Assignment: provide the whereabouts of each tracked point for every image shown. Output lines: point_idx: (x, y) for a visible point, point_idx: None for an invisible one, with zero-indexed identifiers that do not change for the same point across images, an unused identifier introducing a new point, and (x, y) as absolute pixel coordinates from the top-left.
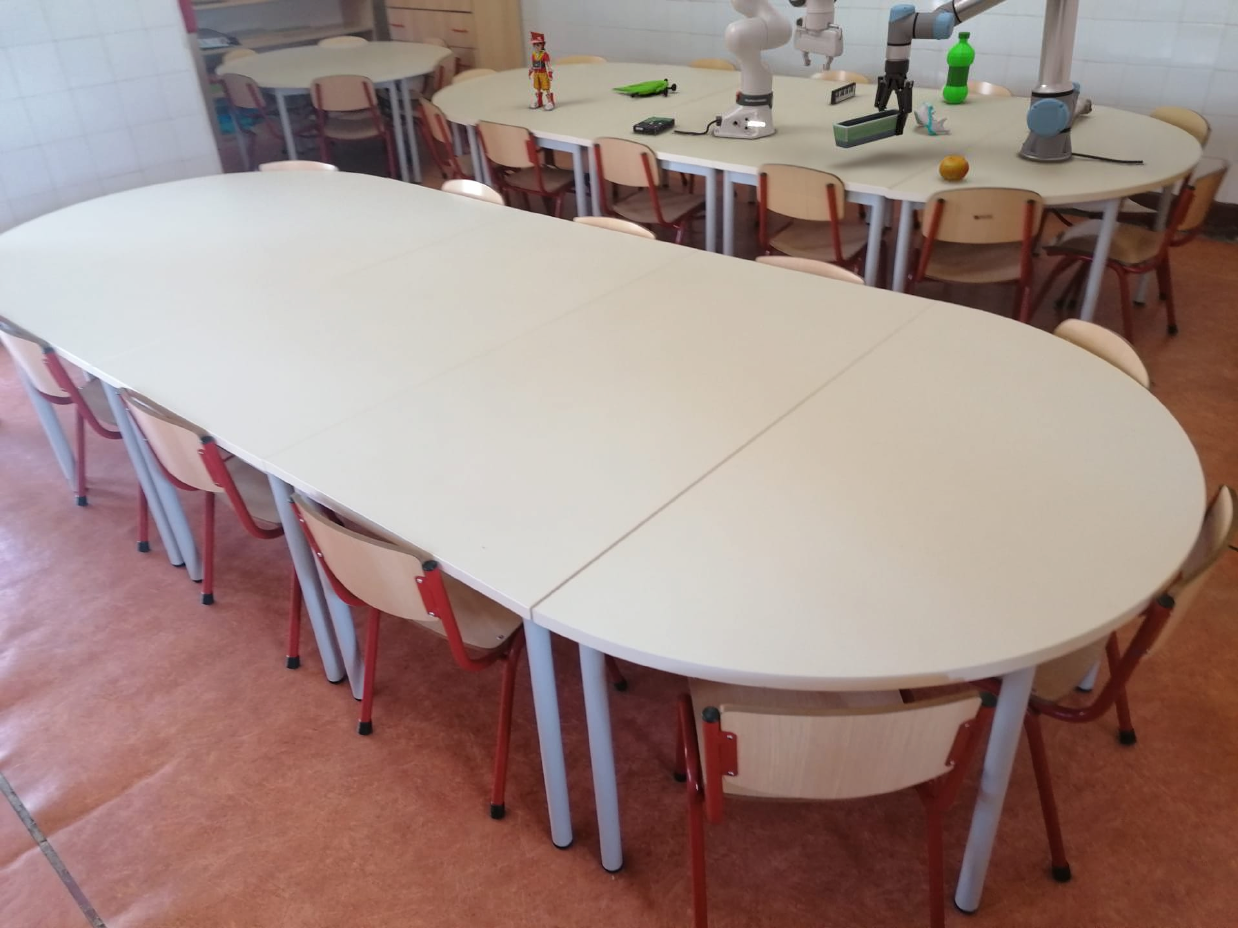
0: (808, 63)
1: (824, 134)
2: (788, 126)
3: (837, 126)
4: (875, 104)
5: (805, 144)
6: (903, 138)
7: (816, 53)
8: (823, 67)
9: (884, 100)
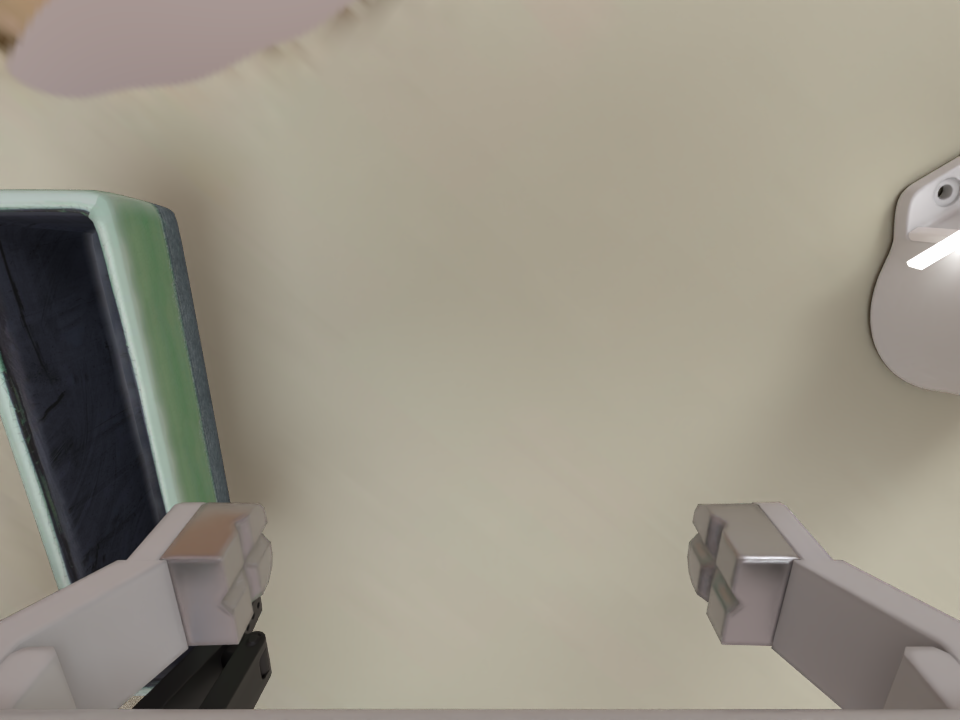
0: (713, 567)
1: (662, 504)
2: (893, 478)
3: (42, 190)
4: (250, 648)
5: (609, 338)
6: (385, 663)
7: (349, 718)
8: (228, 523)
9: (163, 685)
